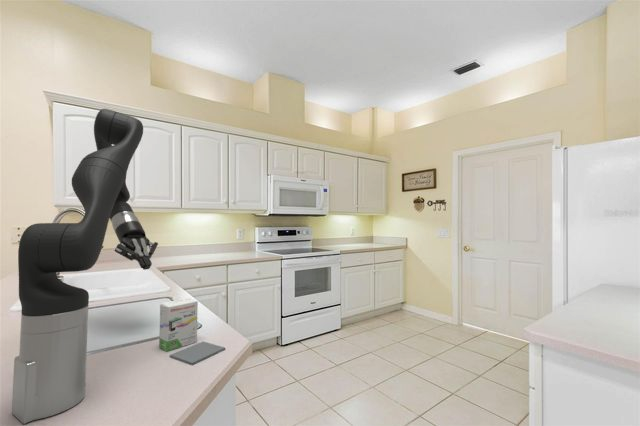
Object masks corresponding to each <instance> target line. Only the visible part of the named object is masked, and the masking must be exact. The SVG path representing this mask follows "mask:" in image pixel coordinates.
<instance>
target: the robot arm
mask: <svg viewBox="0 0 640 426" xmlns="http://www.w3.org/2000/svg"><path fill="white" fill-rule="evenodd" d="M93 135H94V141H95V146H96V150H95V151H92V152H91V153H88V154H87V155H85V156H84V157H83V158H82V159H81V161H80V162H79V164H78V166H77V167H76V169H75V171H74V173H73V174H72V177H71V186H72V190H73V192H74V194H75V196H76V197H77V198H78V200H79V202H80V204H81V205H82V207H83V209H84V212H85V213H84V216H83V218H82V219H81V220H80V221H79V222H48V223H47V222H45V223H44V222H41V223H40V222H38V223H33V224H31V225H28V226H27V228H26V229H25V230H24V231H23V233H22V234H21V236H20V240H19V244H18V251H17V254H18V255H17V258H18V260H17V261H18V263H17V265H18V268H17V269H18V298H19V302H20V305H21V312H20V313H21V315H20V316H21V317H20V318H21V319H20V334H19V335H20V336H19V338H20V339H19V355H17V356H15V357H14V359H13V360H14V361H13V362H14V364H13V378H12V379H13V380H12V394H11V395H12V398H11V414H12V415H14V417H15V418H17V419H18V420H19V422H21V423H22V424H24V425H25V424H27V423H30V422H33V421H36V420H41V419H46V418H49V417H53V416H55V415H58V414H60V413H63V412H66V411H67V410H69V409H71V408H73V407H75V406H76V405H77V404H79V403H80V402H82V401H83V399H84V398H85V395H86V387H87V386H86V380H87V377H86V376H87V353H88V352H87V351H88V350H87V349H88V330H89V329H88V326H89V325H88V322H89V303H90V302H89V301H90V300H89V299H90V295H89V292H88V290H87V289H84V288H81V287H77V286H75V285H71V284H68V283H66V282H64V281H63V280H62V279H60V278H59V277H58V273H72V272H73V273H77V272H83V271H89V270H91V269H92V268H93V267H94V266H95V264H96V263H97V261H98V260H99V257H100V255H101V252H102V249H103V245H104V242H105V237H106V233H107V230H108V226H109V225H108V224H109V222H111V224H112V228H113V231H114V233H115V234H116V235H115V236H116V237H117V239H118V241H119V243H118V244H117V245H116V247H115V249H114V252H115V253H117V254H119V255H120V256H123V258H126V259H127V260H130V261H133V260H135V261H136V262H137V263H138V265H139V266H140V268H141V269H142V270H150V269H151V267H152V265H153V264H152V260H151V258H152V256H153V255H154V253H155V251H156V249H157V247H158V245H159V243H158V242H155V241H154V242H151V241H150V239H149V238H148V237H147V236H146V232H145V229H144V227H143V226H142V223H141V221H140V220H139V218H138V217H137V215H136V214H135V212H134V210H133V209H132V206H131V205H130V204H129V200H130V199H131V198H130V197H131V193H130V191H129V189H128V186H127V174H128V170H129V166H130V164H131V160H132V158H133V156H134V155H135V153H136V151H137V148H138V147H139V145H140V143H141V142H142V141H141V140H142V138H143V136H144V126H143V122H142V121H141V119H138V118H136V117H134V116H131V115H129V114H125V113H123V112H118V111H115V110H112V109H108V108H102V109H100V110H99V111H98V112H97V113H96V116H95V119H94V124H93ZM109 220H110V221H109ZM148 250H149V252H148Z"/></svg>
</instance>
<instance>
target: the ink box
mask: <svg viewBox="0 0 640 426" xmlns="http://www.w3.org/2000/svg"><path fill="white" fill-rule="evenodd" d="M198 302H199V301H197V300H195V299H192V298H191V297H190V298H189V297H187V298H183V299H177V300H171V301H166V302H162V303H160V305H159V339H158V340H159V341H158V343H159V344H158V347H159V349H161V348H162V350H163V351H164V352H169V351H173V350H176V349H179V347H180V348H182V346H183V347H185V345H186V346H189V345H192V344H195V342H196V343H197V342H198V311H199V310H198V309H199V307H198Z"/></svg>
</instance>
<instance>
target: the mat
mask: <svg viewBox="0 0 640 426" xmlns="http://www.w3.org/2000/svg"><path fill="white" fill-rule="evenodd" d="M224 351H226V347H224V346H221V345H216V344H215V343H210V342H207V341H201V342H198V343H196V344H193V345H191V346H189V347H186V348H184V349H183V348H182V349H181V350H179V351H176V352H174V353H171V354H169V358H171V359H174V360H177V361H180V362H182V363H185V364H188V365H191V366H193V365H196V364H198V363H200V362H202V361H205V360H206V359H208V358H211V357H214V356H215V355H217V354H219V353H221V352H224Z"/></svg>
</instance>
